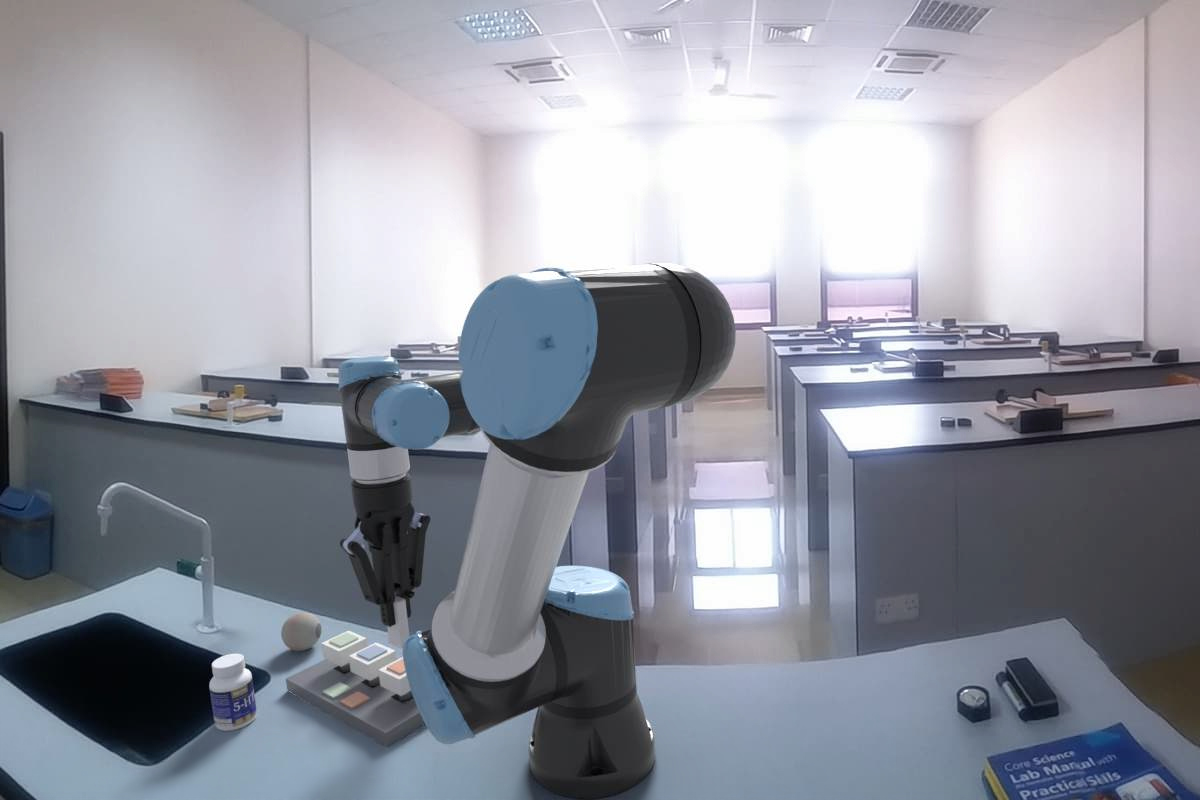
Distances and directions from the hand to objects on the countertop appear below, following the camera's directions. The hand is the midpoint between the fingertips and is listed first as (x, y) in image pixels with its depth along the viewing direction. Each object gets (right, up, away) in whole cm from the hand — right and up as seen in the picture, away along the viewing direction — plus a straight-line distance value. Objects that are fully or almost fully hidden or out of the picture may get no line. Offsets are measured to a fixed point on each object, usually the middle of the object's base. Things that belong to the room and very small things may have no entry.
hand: (399, 643), depth 104 cm
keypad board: (-5, -9, +5) cm, 12 cm away
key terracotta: (+1, -8, +1) cm, 8 cm away
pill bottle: (-23, -11, +1) cm, 25 cm away
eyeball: (-21, -8, +21) cm, 31 cm away
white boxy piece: (-5, -7, +6) cm, 10 cm away
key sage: (-10, -7, +10) cm, 16 cm away
